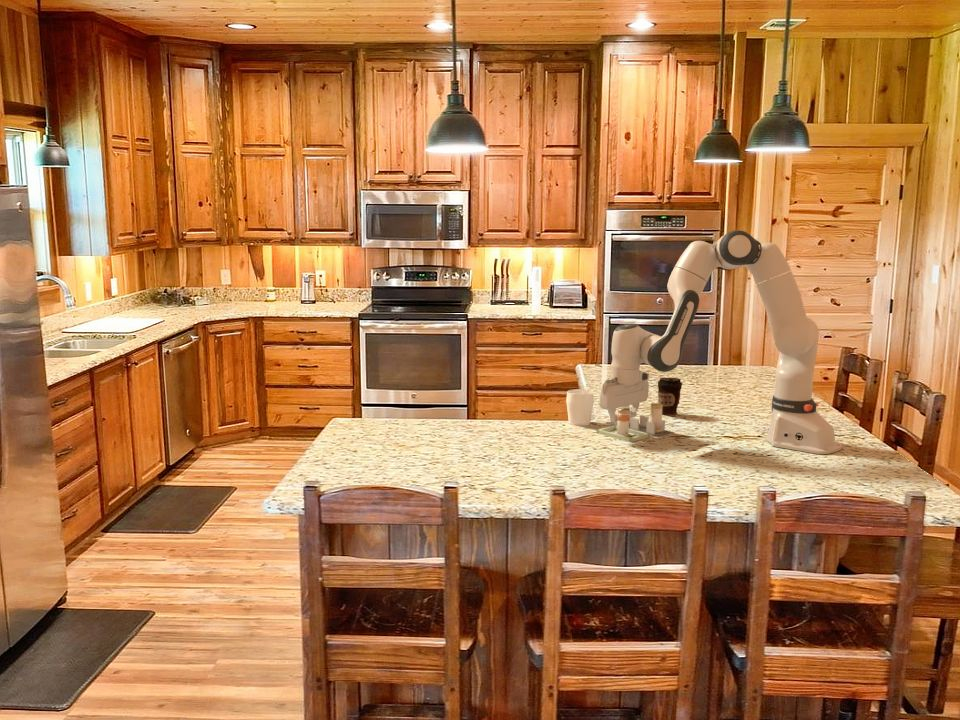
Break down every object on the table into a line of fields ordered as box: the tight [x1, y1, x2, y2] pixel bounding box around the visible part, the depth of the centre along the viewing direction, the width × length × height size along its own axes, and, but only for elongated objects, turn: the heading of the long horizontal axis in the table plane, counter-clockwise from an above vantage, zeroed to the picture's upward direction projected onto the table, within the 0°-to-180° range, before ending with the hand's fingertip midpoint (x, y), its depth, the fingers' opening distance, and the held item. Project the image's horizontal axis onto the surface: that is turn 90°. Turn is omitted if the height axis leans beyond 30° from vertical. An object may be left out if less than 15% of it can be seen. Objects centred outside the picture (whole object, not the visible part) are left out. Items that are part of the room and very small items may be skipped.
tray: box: [596, 425, 650, 443], centre depth 271 cm, size 14×9×2 cm, turn 42°
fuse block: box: [605, 413, 675, 438], centre depth 280 cm, size 22×8×5 cm, turn 42°
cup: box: [565, 388, 595, 427], centre depth 285 cm, size 9×9×12 cm
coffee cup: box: [657, 377, 683, 417], centre depth 303 cm, size 9×8×13 cm
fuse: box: [649, 402, 663, 433], centre depth 274 cm, size 4×4×9 cm
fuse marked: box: [616, 408, 631, 437], centre depth 271 cm, size 4×4×9 cm
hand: (623, 419), depth 270 cm, fingers open, 8 cm apart
